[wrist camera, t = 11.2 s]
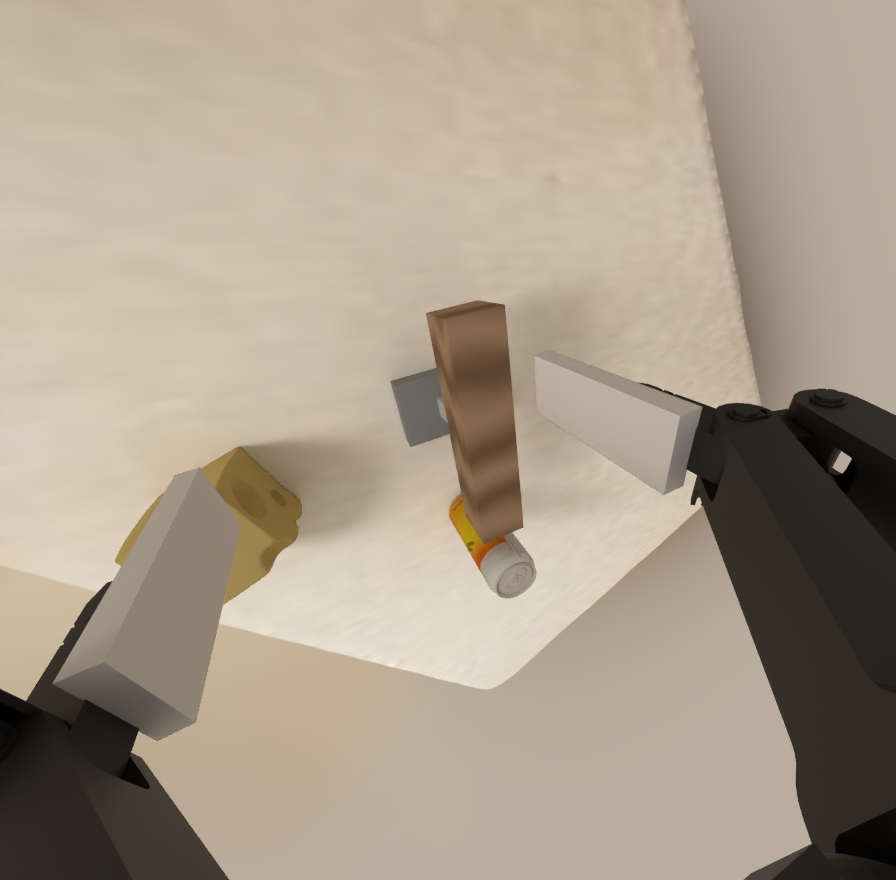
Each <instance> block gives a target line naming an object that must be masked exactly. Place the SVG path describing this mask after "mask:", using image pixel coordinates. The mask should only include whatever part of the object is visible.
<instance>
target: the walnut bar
mask: <svg viewBox="0 0 896 880" xmlns="http://www.w3.org/2000/svg"><path fill="white" fill-rule="evenodd" d="M426 316H427V321H428V326H429V331H430V336H431V341H432V346H433V351H434V356H435V361H436V366H437V371H438V376H439V382H440V387H441V392H442V397H443V402H444V407H445V412H446V417H447V422H448V427H449V432H450V437H451V442H452V448H453V453H454V458H455V463H456V468H457V473H458V478H459V483H460V488H461V493H462V498H463V503H464V508H465V513H466V517H467V519H468V520H469V522H470V523H471V525H472V527H473V528H474V530H475V531H476V533H477V534H478V536H479V537H480V539H481V541H482V542H483V544H486V543H488V542H490V541H493V540H495V539H497V538H500V537H502V536H504V535H507V534H509V533H511V532H514V531H516V530H518V529H521V528H523V516H522V504H521V492H520V480H519V469H518V457H517V445H516V433H515V421H514V409H513V397H512V385H511V373H510V362H509V350H508V338H507V326H506V314H505V305H503V304H497V303H491V302H484V301H474V302H470V303H465V304H461V305H457V306H453V307H449V308H445V309H441V310H437V311H433V312H429V313H426Z"/></svg>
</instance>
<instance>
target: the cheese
mask: <svg viewBox="0 0 896 880" xmlns="http://www.w3.org/2000/svg"><path fill="white" fill-rule="evenodd" d="M201 470H202V471H203V473H204V474H205V476H206V477H207V478H208V480H209V481H210V482H211V484H212V485H213V486H214V488H215V489H216V490H217V492H218V493H219V495H220V496H221V497H222V499H223V500H224V501H225V503H226V504H227V505H228V507H229V508H230V509H231V511H232V512H233V514H234V515H235V516H236V518H237V519H238V520H239V522H240V523H241V528H240V532H239V537H238V541H237V545H236V550H235V554H234V558H233V563H232V567H231V571H230V576H229V580H228V584H227V589H226V593H225V598H224V602H223V605H224V604H225V603H227V602H228V601H229V600H231V599H233V598H234V597H236V596H237V595H239V594H240V593H241V592H243V591H244V590H246V589H247V588H249V587H250V586H251V585H253V584H254V583H256V582H257V581H259V580H260V579H261V578H263V577H264V576H265V575H267V574H268V573H269V572H270V570H271V568H272V566H273V563H274V561H275V559H276V557H277V556H278V554H279V553H280V552H281V551H282V550H283V549H284V548H286V547H288V546H289V545H291V544H292V543H293V542H294V541H295V540H296V538H297V535H298V526H297V524H296V522H295V521H296V520H297V519H299V518H300V517H301V514H302V505H301V502H300V500H299V499H298V498H297V497H296V496H295V495H293V494H292V493H291V492H289V491H288V490H286V489H285V488H284V487H283V486H281V485H280V484H279V483H278V482H277V481H276V480H275V479H274V478H273V477H271V476H270V475H269V474H268V473H267V472H266V471H265V470H264V469H263V468H262V467H261V466H259V465H258V464H257V463H256V462H255V461H254V460H253V459H252V458H251V457H250V456H249V455H248V454H247V453H246V452H245V451H244V450H242V449H241V448H240V447H237V448H235V449H233V450H232V451H230V452H228V453H227V454H225V455H223V456H222V457H220V458H218V459H217V460H215V461H213V462H212V463H210V464H209V465H207V466H205V467H204V468H202V469H201ZM163 495H164V494H162V495H161V496H159V497H158V498H157V499H156V501H155V502H154V503H153V504H152V505H151V506H150V507H149V509H148V510H147V511H146V512H145V513H144V515H143V516H142V517H141V519H140V520H139V522H138V523H137V524H136V526H135V527H134V529H133V530H132V531H131V533H130V534H129V536H128V537H127V539H126V540H125V542H124V543H123V545H122V547H121V549H120V551H119V553H118V555H117V557H116V559H115V562H116V563H117V564H119V565H121V566H122V564H123V563H124V561H125V559H126V558H127V556H128V554H129V553H130V551H131V549H132V547H133V546H134V544H135V542H136V541H137V539H138V537H139V536H140V534H141V532H142V530H143V529H144V527H145V525H146V524H147V522H148V520H149V519H150V517H151V515H152V513H153V512H154V510H155V508H156V507H157V505H158V503H159V502H160V500H161V498H162V496H163Z"/></svg>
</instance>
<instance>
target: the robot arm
mask: <svg viewBox="0 0 896 880" xmlns="http://www.w3.org/2000/svg"><path fill="white" fill-rule="evenodd" d="M534 365H535V385H536V404H537V413H538V414H540V415H542V416H543V417H545V418H546V419H548V420H549V421H551V422H552V423H554V424H555V425H557V426H558V427H560V428H561V429H563V430H564V431H566V432H568V433H569V434H571V435H572V436H574V437H575V438H577V439H578V440H580V441H581V442H583V443H584V444H586V445H587V446H589V447H591V448H592V449H594V450H595V451H597V452H598V453H600V454H601V455H603V456H604V457H606V458H607V459H609V460H610V461H612V462H613V463H615V464H617V465H618V466H620V467H621V468H623V469H624V470H626V471H627V472H629V473H630V474H632V475H633V476H635V477H636V478H638V479H639V480H641V481H643V482H644V483H646V484H647V485H649V486H650V487H652V488H653V489H655V490H656V491H658V492H659V493H661V494H662V495H665V494H667V493H669V492H671V491H673V490H675V489H677V488H680V487H682V486H683V484H684V480H685V476H686V471H687V470H689V471H691V472H693V473H695V474H696V475H697V478H696V482H695V485H694V489H693V493H692V496H691V505H695V503H696V500H697V498H699V497H700V499H701V501H702V503H701V506H703V507H704V510H705V512H706V515H707V517H708V520H709V523H710V525H711V528H712V531H713V534H714V536H715V539H716V541H717V544H718V547H719V550H720V552H721V555H722V557H723V560H724V563H725V566H726V568H727V571H728V574H729V576H730V579H731V581H732V584H733V587H734V590H735V592H736V595H737V598H738V601H739V603H740V606H741V609H742V611H743V614H744V616H745V619H746V622H747V625H748V627H749V630H750V633H751V635H752V638H753V641H754V643H755V646H756V649H757V651H758V654H759V656H760V659H761V662H762V665H763V667H764V670H765V673H766V675H767V678H768V681H769V683H770V686H771V688H772V692H773V694H774V697H775V700H776V702H777V705H778V708H779V710H780V713H781V715H782V718H783V720H784V724H785V726H786V729H787V732H788V734H789V737H790V740H791V742H792V745H793V749H794V752H795V758H796V790H797V796H798V802H799V805H800V809H801V812H802V816H803V819H804V822H805V825H806V828H807V831H808V834H809V836H810V839H811V842H812V844H811V845H808V846H807V847H804V848H803V849H800V850H798V851H796V852H794V853H792V854H790V855H788V856H786V857H784V858H782V859H780V860H778V861H776V862H773V863H771V864H770V865H768V866H765V867H763V868H761V869H759V870H757V871H755V872H753V873H751V874H750V875H749V876H748V877H746V878H745V879H744V880H896V415H894V414H891V413H890V412H888V411H886V410H883V409H881V408H879V407H877V406H875V405H873V404H871V403H869V402H867V401H865V400H862V399H860V398H858V397H855V396H853V395H850V394H847V393H843V392H838V391H836V390H832V389H828V390H826V389H816V390H804V391H800V392H798V393H796V394H795V395H794V396H793V399H792V401H791V404H790V406H789V409H784V410H778V411H771V410H769V409H766V408H764V407H761V406H757V405H752V404H744V403H732V404H725V405H722V406H719V407H718V408H717V409H715V408H713V407H710V406H707V405H704V404H702V403H699V402H696V401H693V400H691V399H688V398H685V397H682V396H679V395H677V394H676V395H674V394H673V393H671V392H668V391H666V390H664V391H662V389H660V388H657V387H655V386H652V385H649V384H644V383H638V382H634V381H631V380H629V379H626V378H623V377H620V376H618V375H615V374H612V373H610V372H607V371H604V370H601V369H599V368H596V367H593V366H591V365H588V364H585V363H582V362H580V361H577V360H574V359H572V358H569V357H566V356H564V355H561V354H558V353H555V352H553V351H550V350H549V351H546V352H543V353H540V354H537V355H534ZM841 451H843V452H844V453H845V454H847V455H848V456H850V457H851V458H852V460H851V462H850V463H849V465H848V467H847V469H846V470H845V471H844V473H843V474H842V473H840V472H838V471H836V470H835V469H833V468H832V467H833V465H834V463H835V462H836V460H837V458H838V456H839V454H840V452H841ZM240 528H241V523H240V522H239V520H238V519H237V518H236V516H235V515H234V514H233V512H232V511H231V509H230V508H229V507H228V505H227V504H226V503H225V501H224V500H223V499H222V497H221V496H220V495H219V493H218V492H217V490H216V489H215V488H214V486H213V485H212V484H211V482H210V481H209V480H208V478H207V477H206V476H205V474H204V473H203V471H202V470H201V469H200V467H199V468H196V469H193V470H190V471H187V472H184V473H181V474H178V475H175V476H174V478H173V479H172V481H171V483H170V485H169V486H168V488H167V490H166V491H165V493H164V495H163V496H162V498H161V500H160V502H159V503H158V505H157V507H156V508H155V510H154V512H153V513H152V515H151V517H150V519H149V520H148V522H147V524H146V525H145V527H144V529H143V530H142V532H141V534H140V536H139V537H138V539H137V541H136V542H135V544H134V546H133V547H132V549H131V551H130V553H129V554H128V556H127V558H126V559H125V561H124V563H123V564H122V566H121V568H120V570H119V571H118V573H117V575H116V576H115V578H114V580H113V581H111V582H108V583H106V584H105V585H104V586H103V587H102V589H101V590H100V591H99V592H98V593H97V594H96V595H95V596H94V597H93V598H92V599H91V600H90V601H89V602H88V603H87V604H86V606H85V607H84V609H83V611H82V612H81V614H80V615H79V617H78V619H77V620H76V622H75V623H74V625H75V627H74V628H71V630H70V631H69V633H68V635H67V636H66V638H65V639H64V641H63V642H64V645H62V646H60V647H59V649H58V651H57V652H56V654H55V656H54V657H53V659H52V660H51V662H50V663H49V665H48V667H47V668H46V670H45V672H44V673H43V675H42V676H41V678H40V680H39V681H38V683H37V684H36V686H35V687H34V689H33V691H32V692H31V694H30V695H29V697H28V699H27V700H26V701H24V700H22V699H20V698H18V697H16V696H14V695H12V694H10V693H8V692H6V691H3V690H1V689H0V880H229V879H228V878H227V876H226V875H225V873H224V872H223V871H222V869H221V868H220V867H219V865H218V864H217V862H216V861H215V860H214V858H213V857H212V855H211V854H210V853H209V851H208V850H207V848H206V847H205V845H204V844H203V843H202V841H201V840H200V838H199V837H198V836H197V834H196V833H195V832H194V830H193V829H192V827H191V826H190V825H189V824H188V822H187V820H186V819H185V818H184V816H183V815H182V813H181V812H180V811H179V809H178V808H177V806H176V805H175V804H174V802H173V801H172V800H171V798H170V797H169V795H168V794H167V793H166V791H165V790H164V788H163V787H162V786H161V784H160V783H159V781H158V780H157V779H156V777H155V776H154V775H153V773H152V772H151V770H150V769H149V768H148V766H147V765H146V763H145V762H144V761H143V759H142V758H141V757H139V756H137V755H135V754H133V753H131V751H132V748H133V745H134V742H135V739H136V736H137V734H138V731H140V732H142V733H143V734H145V735H147V736H149V737H151V738H153V739H154V740H156V741H158V740H160V739H162V738H165V737H167V736H168V735H171V734H173V733H175V732H177V731H179V730H181V729H183V728H185V727H187V726H189V725H191V724H193V723H195V722H196V720H197V715H198V711H199V707H200V702H201V698H202V693H203V689H204V684H205V680H206V676H207V672H208V667H209V663H210V659H211V654H212V650H213V645H214V641H215V637H216V632H217V628H218V624H219V619H220V615H221V611H222V606H223V602H224V598H225V593H226V589H227V584H228V580H229V576H230V571H231V567H232V563H233V558H234V554H235V550H236V545H237V541H238V537H239V532H240Z"/></svg>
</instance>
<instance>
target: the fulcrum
mask: <svg viewBox="0 0 896 880" xmlns="http://www.w3.org/2000/svg"><path fill="white" fill-rule="evenodd" d="M391 384H392V388H393V392H394V395H395V399H396V402H397V406H398V410H399V413H400V417H401V420H402V424H403V428H404V431H405V435H406V438H407V441H408V443H409V444H410V446H411V447H412V446H415V445H418V444H421V443H424V442H427V441H430V440H432V439H435V438H438V437H441V436H444V435H447V434H450V432H449V427H448V422H447V417H446V412H445V407H444V402H443V397H442V392H441V387H440V382H439V376H438V371H437V368H435V369H432V370H428V371H425V372H422V373H418V374H415V375H411V376H408V377H404V378H401V379H398V380H394V381H391Z"/></svg>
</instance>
